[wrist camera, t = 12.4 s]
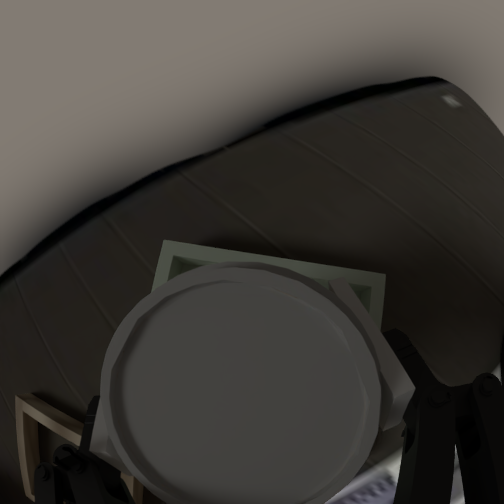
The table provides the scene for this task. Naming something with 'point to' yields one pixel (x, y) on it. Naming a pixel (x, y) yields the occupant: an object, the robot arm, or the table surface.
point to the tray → (193, 256)
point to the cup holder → (71, 429)
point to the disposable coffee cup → (242, 388)
